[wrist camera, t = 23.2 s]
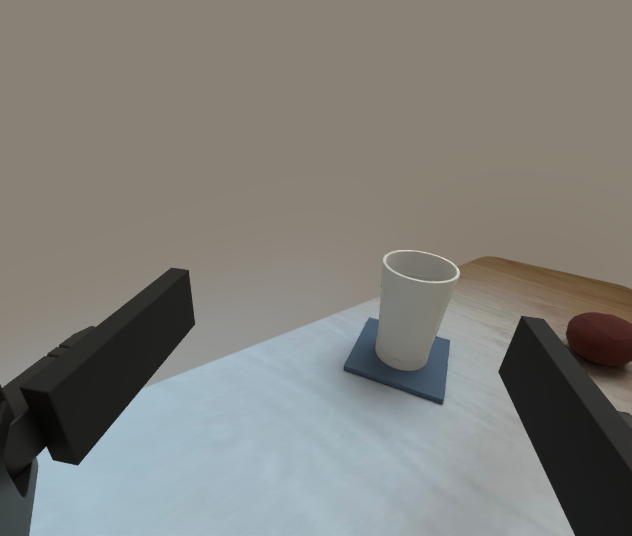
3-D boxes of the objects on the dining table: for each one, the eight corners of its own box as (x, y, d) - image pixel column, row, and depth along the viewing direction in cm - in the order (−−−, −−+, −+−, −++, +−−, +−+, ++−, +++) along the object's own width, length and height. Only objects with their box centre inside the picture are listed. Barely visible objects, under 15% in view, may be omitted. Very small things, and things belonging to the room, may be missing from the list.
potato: (544, 334, 47) (560, 298, 44) (605, 341, 46) (625, 305, 44) (575, 371, 40) (597, 332, 38) (647, 380, 40) (674, 340, 37)
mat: (343, 369, 38) (344, 365, 38) (368, 320, 47) (369, 317, 47) (442, 404, 34) (443, 400, 34) (449, 343, 44) (450, 340, 43)
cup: (446, 374, 38) (475, 282, 32) (379, 377, 36) (397, 283, 31) (418, 331, 45) (438, 250, 39) (361, 333, 44) (374, 249, 38)
